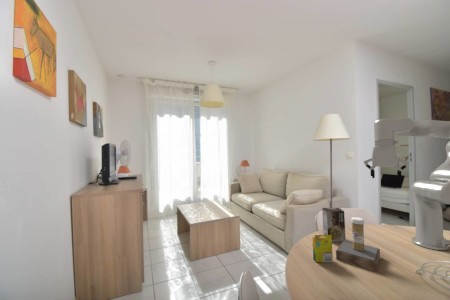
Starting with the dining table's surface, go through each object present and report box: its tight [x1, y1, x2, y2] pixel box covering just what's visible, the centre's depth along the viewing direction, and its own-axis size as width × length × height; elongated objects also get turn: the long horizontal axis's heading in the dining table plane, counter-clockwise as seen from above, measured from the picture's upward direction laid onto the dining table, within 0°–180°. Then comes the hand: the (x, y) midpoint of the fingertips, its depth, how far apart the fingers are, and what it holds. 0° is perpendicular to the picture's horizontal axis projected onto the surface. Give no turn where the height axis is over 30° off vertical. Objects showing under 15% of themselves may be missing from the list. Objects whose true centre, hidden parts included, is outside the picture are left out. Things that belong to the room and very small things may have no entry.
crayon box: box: [312, 234, 334, 264], centre depth 85 cm, size 7×3×12 cm, turn 86°
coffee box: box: [321, 207, 347, 243], centre depth 106 cm, size 9×6×16 cm
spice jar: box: [350, 216, 365, 251], centre depth 86 cm, size 5×5×13 cm
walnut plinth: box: [335, 239, 381, 272], centre depth 86 cm, size 14×14×4 cm
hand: (385, 178), depth 97 cm, fingers open, 9 cm apart
